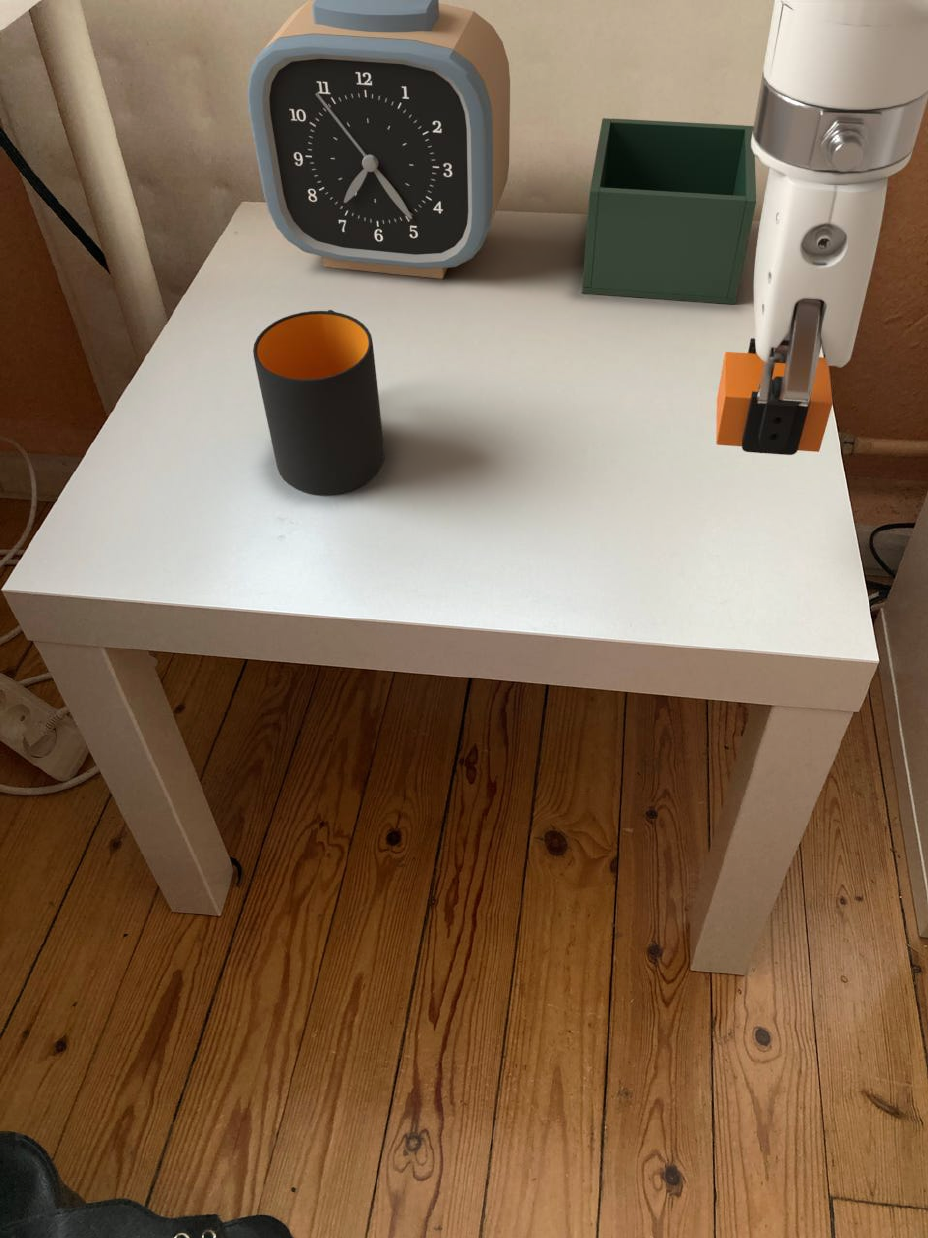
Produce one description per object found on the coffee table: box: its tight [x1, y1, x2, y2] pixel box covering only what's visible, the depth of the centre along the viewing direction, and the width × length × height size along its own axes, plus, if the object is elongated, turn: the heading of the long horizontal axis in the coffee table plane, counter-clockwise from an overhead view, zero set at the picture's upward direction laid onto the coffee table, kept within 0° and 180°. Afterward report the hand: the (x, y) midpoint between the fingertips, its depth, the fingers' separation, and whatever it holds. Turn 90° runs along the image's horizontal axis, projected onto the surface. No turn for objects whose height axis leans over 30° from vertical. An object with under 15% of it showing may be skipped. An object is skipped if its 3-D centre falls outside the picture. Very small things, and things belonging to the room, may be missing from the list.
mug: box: [252, 309, 385, 496], centre depth 76 cm, size 8×12×10 cm
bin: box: [581, 117, 757, 305], centre depth 92 cm, size 14×14×10 cm
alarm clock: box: [246, 0, 511, 280], centre depth 89 cm, size 21×10×22 cm, turn 78°
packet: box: [715, 351, 834, 453], centre depth 61 cm, size 4×6×4 cm
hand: (767, 420), depth 62 cm, fingers closed on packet, 4 cm apart
